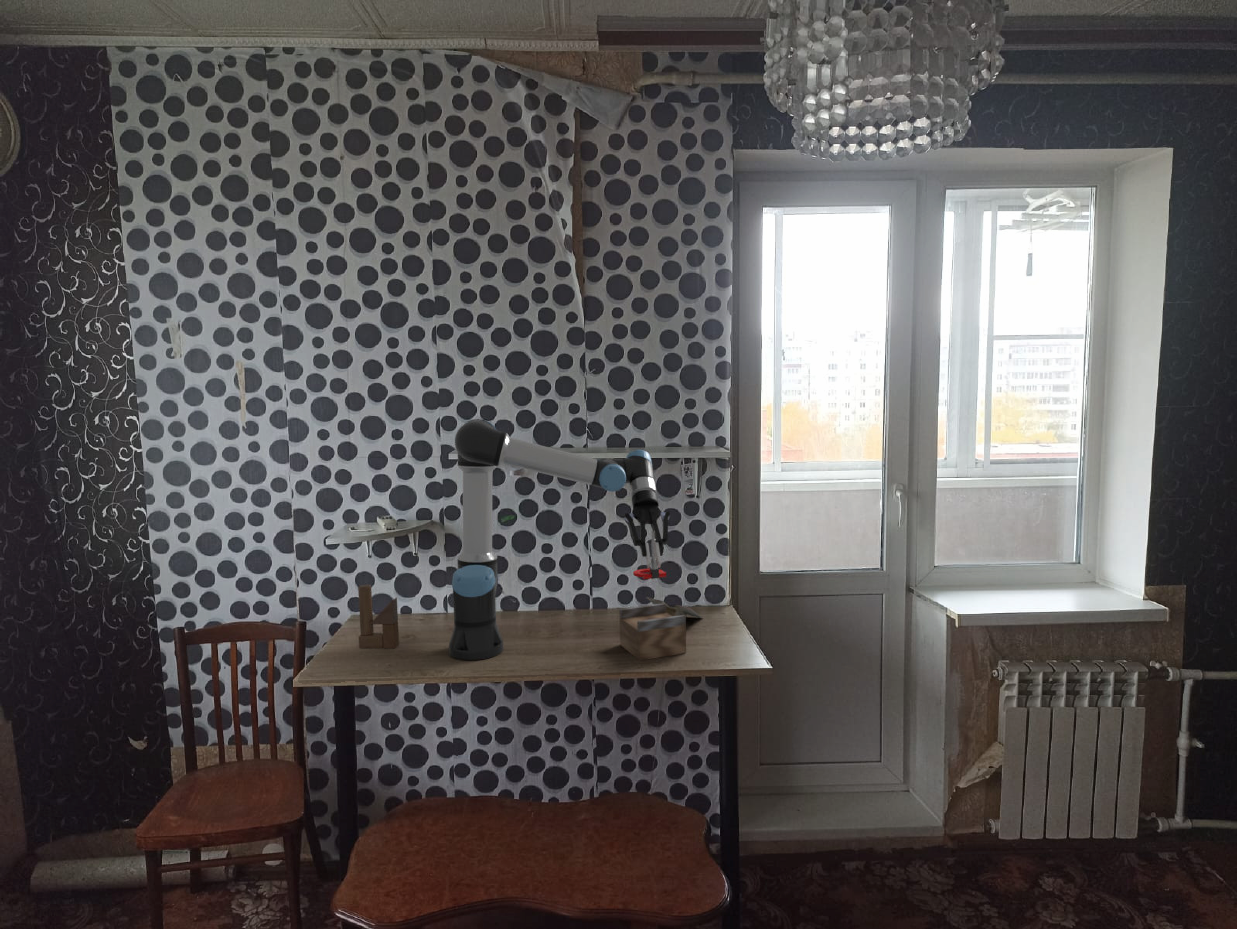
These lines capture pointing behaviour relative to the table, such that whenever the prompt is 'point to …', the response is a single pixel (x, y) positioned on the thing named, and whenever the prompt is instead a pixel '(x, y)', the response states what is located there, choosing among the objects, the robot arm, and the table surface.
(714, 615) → the table surface
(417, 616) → the table surface
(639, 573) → the tow hook
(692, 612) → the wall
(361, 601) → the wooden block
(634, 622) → the open wooden crate
